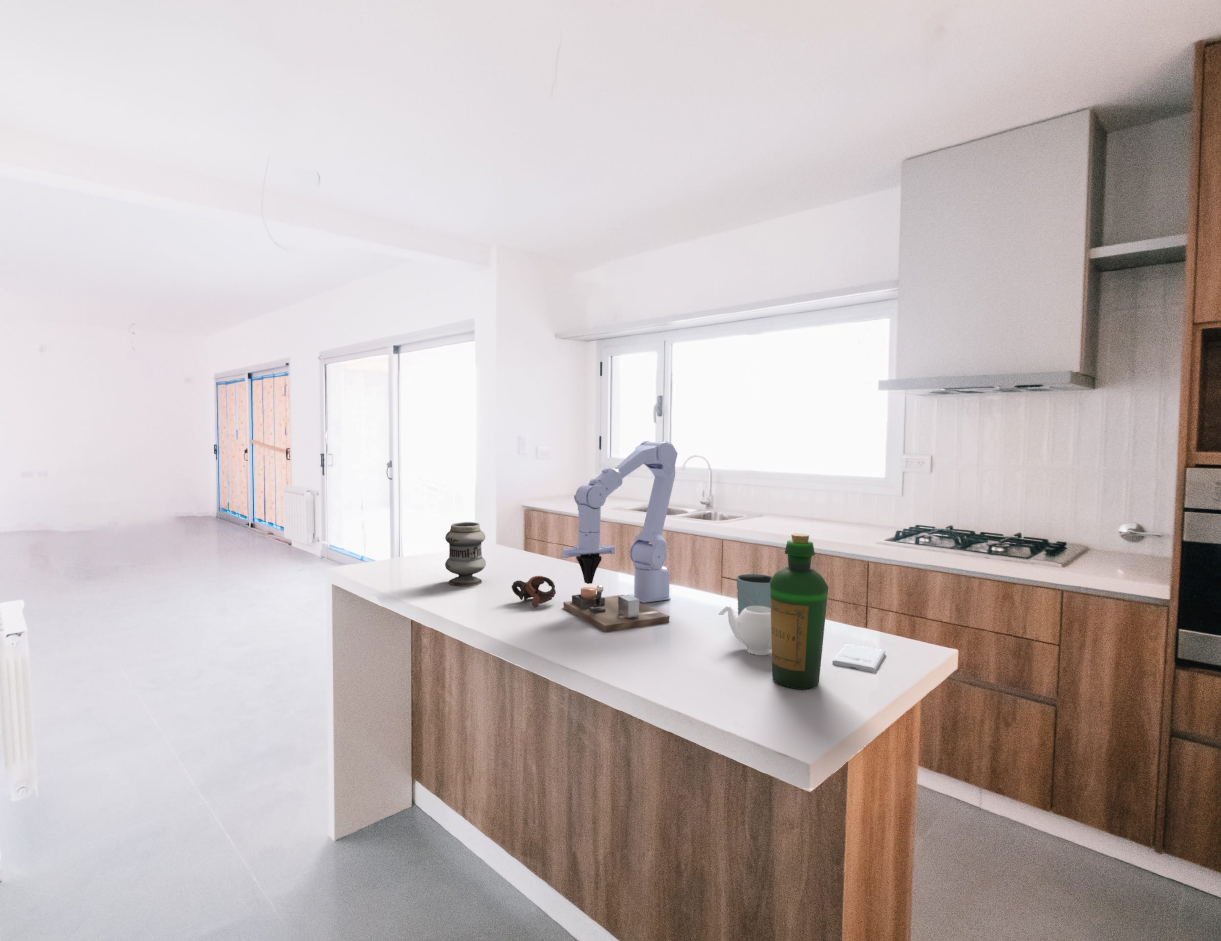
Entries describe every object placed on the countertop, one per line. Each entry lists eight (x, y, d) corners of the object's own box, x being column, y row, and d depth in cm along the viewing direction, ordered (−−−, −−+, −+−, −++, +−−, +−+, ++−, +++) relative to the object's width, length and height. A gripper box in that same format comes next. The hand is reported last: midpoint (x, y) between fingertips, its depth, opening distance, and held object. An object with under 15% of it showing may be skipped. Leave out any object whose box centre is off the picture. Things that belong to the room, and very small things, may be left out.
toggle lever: (599, 604, 165) (602, 583, 163) (602, 608, 164) (605, 586, 162) (592, 605, 164) (595, 584, 162) (595, 608, 163) (598, 587, 161)
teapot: (728, 636, 150) (729, 596, 149) (811, 657, 137) (813, 613, 136) (706, 646, 143) (707, 604, 142) (791, 669, 130) (793, 623, 129)
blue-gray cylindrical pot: (729, 629, 156) (731, 579, 155) (742, 618, 165) (743, 571, 164) (772, 635, 151) (774, 584, 150) (782, 624, 160) (784, 576, 159)
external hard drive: (885, 657, 140) (874, 675, 129) (845, 650, 144) (831, 666, 133) (885, 649, 139) (874, 667, 129) (845, 642, 144) (832, 659, 133)
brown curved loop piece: (553, 599, 183) (560, 577, 179) (548, 622, 174) (555, 600, 170) (511, 588, 182) (517, 566, 178) (504, 611, 173) (510, 588, 169)
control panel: (622, 600, 181) (622, 587, 180) (669, 622, 161) (669, 608, 160) (563, 607, 172) (563, 594, 172) (604, 631, 152) (605, 617, 152)
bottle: (758, 671, 128) (763, 530, 127) (811, 670, 129) (816, 530, 127) (777, 693, 118) (782, 539, 116) (834, 692, 119) (840, 539, 117)
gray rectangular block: (628, 611, 163) (628, 594, 163) (638, 616, 159) (639, 599, 158) (618, 612, 161) (618, 596, 161) (628, 618, 157) (628, 600, 157)
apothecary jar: (438, 585, 193) (438, 525, 192) (454, 577, 205) (454, 520, 204) (477, 588, 191) (477, 527, 190) (491, 579, 203) (491, 521, 202)
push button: (591, 595, 173) (591, 586, 173) (598, 599, 169) (598, 589, 169) (578, 597, 171) (578, 588, 171) (584, 601, 168) (584, 591, 167)
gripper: (606, 527, 176) (605, 577, 177) (557, 530, 169) (556, 582, 170) (619, 531, 170) (618, 582, 171) (568, 534, 163) (568, 588, 164)
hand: (588, 582), depth 170 cm, fingers closed
